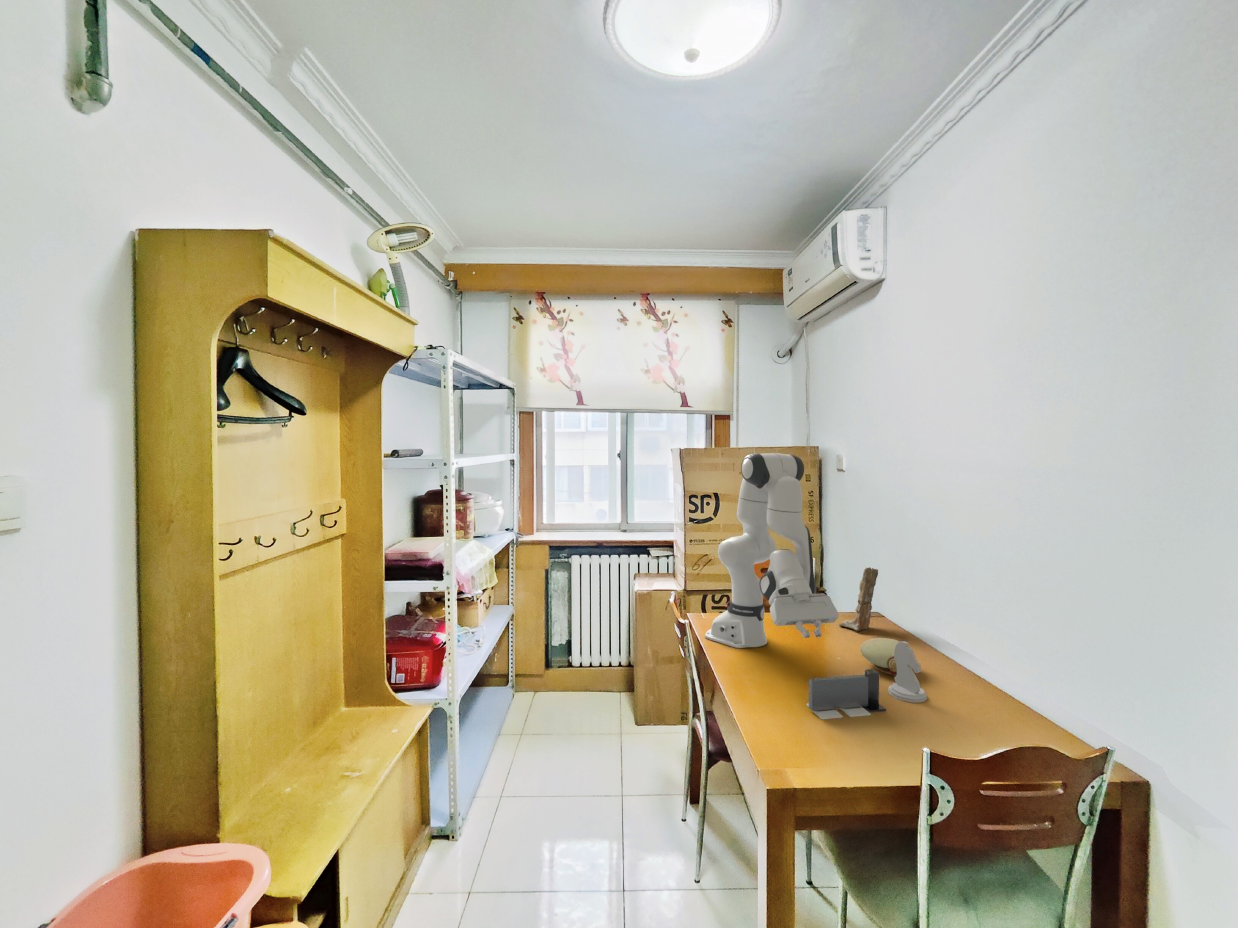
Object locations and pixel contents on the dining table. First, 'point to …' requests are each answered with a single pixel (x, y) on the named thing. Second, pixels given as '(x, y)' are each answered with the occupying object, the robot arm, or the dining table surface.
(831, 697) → the grey panel stand
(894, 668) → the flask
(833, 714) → the label plate
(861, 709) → the label plate
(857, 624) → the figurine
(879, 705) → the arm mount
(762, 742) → the dining table surface
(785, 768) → the dining table surface
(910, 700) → the chess piece
